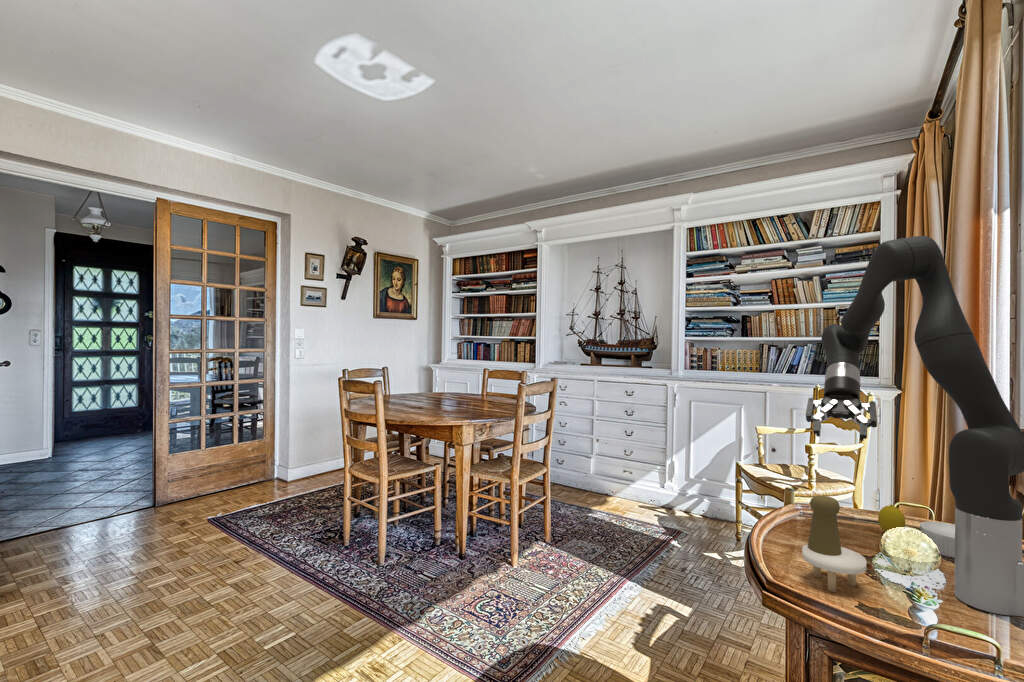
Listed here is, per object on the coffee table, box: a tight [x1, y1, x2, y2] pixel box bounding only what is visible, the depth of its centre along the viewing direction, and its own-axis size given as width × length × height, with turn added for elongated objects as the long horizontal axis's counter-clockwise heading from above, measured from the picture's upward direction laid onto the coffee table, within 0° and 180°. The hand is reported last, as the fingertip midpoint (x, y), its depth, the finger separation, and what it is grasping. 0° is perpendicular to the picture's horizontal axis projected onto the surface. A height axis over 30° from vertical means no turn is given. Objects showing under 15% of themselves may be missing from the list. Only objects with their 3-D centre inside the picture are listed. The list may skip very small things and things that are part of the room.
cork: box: [807, 494, 842, 556], centre depth 103 cm, size 6×6×11 cm
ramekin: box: [919, 520, 955, 559], centre depth 118 cm, size 11×11×5 cm
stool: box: [801, 543, 867, 593], centre depth 101 cm, size 11×11×6 cm
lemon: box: [877, 504, 907, 532], centre depth 126 cm, size 6×6×8 cm
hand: (839, 436), depth 116 cm, fingers open, 8 cm apart
